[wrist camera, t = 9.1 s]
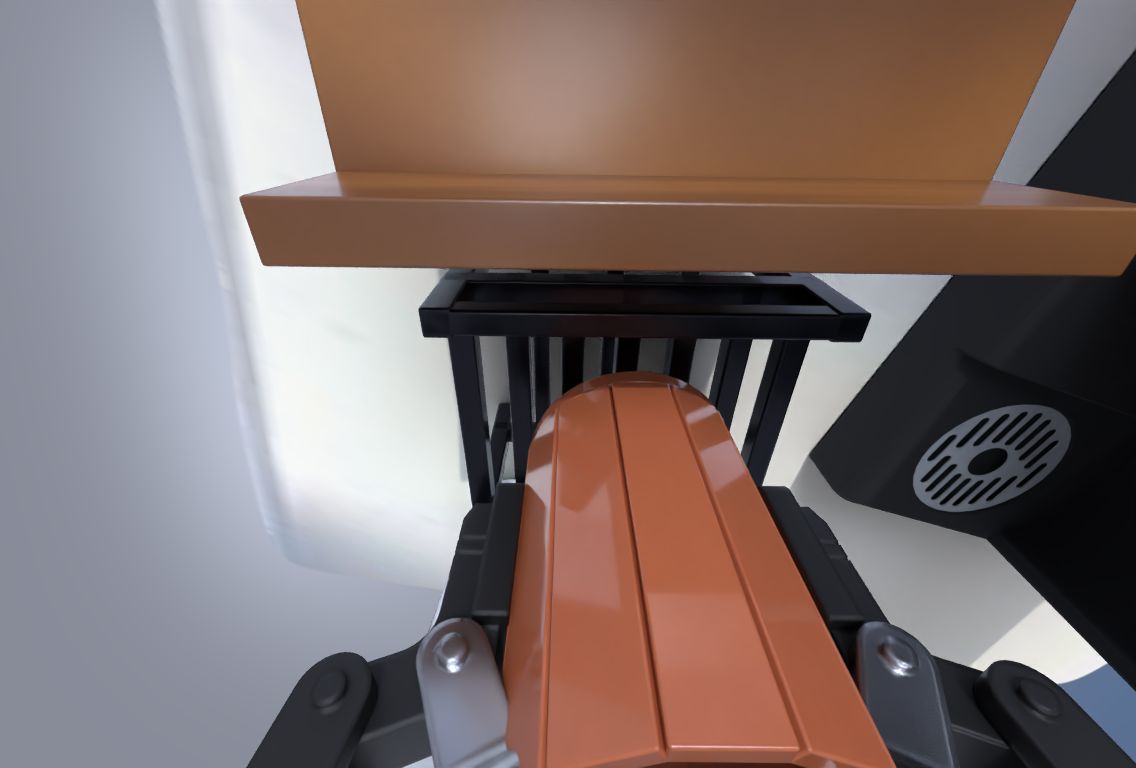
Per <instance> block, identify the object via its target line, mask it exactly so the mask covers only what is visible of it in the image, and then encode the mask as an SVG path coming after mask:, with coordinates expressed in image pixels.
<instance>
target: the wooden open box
mask: <svg viewBox="0 0 1136 768" xmlns="http://www.w3.org/2000/svg"><path fill="white" fill-rule="evenodd" d="M295 1H296V5H297V10H298V14H299V18H300V22H301V26H302V31H303V35H304V39H305V43H306V47H307V52H308V56H309V60H310V64H311V68H312V72H313V77H314V81H315V85H316V89H317V93H318V98H319V102H320V106H321V110H322V114H323V119H324V123H325V127H326V131H327V135H328V139H329V144H330V148H331V152H332V156H333V160H334V165H335V169H336V172H334V173H330V174H326V175H322V176H318V177H314V178H310V179H306V180H302V181H298V182H294V183H290V184H286V185H282V186H278V187H274V188H270V189H266V190H262V191H258V192H254V193H250V194H246V195H243V196H241V197H240V202H241V205H242V208H243V211H244V214H245V217H246V219H247V222H248V225H249V228H250V231H251V234H252V236H253V239H254V242H255V245H256V248H257V250H258V253H259V256H260V259H261V262H262V264H263V265H264V266H288V267H368V268H447V269H526V270H605V271H684V272H763V273H842V274H921V275H1000V276H1079V277H1118V276H1120V275H1121V274H1122V273H1123V272H1124V270H1125V269H1126V267H1127V266H1128V265H1129V263H1130V262H1131V260H1132V259H1133V257H1134V256H1135V254H1136V203H1130V202H1124V201H1117V200H1111V199H1105V198H1098V197H1092V196H1086V195H1079V194H1073V193H1067V192H1061V191H1054V190H1048V189H1042V188H1035V187H1029V186H1023V185H1016V184H1010V183H1004V182H997V181H991V180H992V178H993V176H994V174H995V172H996V170H997V168H998V165H999V163H1000V161H1001V159H1002V157H1003V155H1004V153H1005V151H1006V148H1007V146H1008V144H1009V142H1010V140H1011V138H1012V136H1013V134H1014V131H1015V129H1016V127H1017V125H1018V123H1019V121H1020V119H1021V117H1022V114H1023V112H1024V110H1025V108H1026V106H1027V104H1028V102H1029V100H1030V97H1031V95H1032V93H1033V91H1034V89H1035V87H1036V85H1037V83H1038V80H1039V78H1040V76H1041V74H1042V72H1043V70H1044V68H1045V66H1046V64H1047V61H1048V59H1049V57H1050V55H1051V53H1052V51H1053V49H1054V47H1055V44H1056V42H1057V40H1058V38H1059V36H1060V34H1061V32H1062V30H1063V27H1064V25H1065V23H1066V21H1067V19H1068V17H1069V15H1070V13H1071V10H1072V8H1073V6H1074V4H1075V2H1076V0H295Z"/></svg>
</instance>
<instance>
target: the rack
mask: <svg viewBox="0 0 1136 768" xmlns="http://www.w3.org/2000/svg"><path fill="white" fill-rule="evenodd" d="M488 271H489V269H449V270H448V271H447V272H446V273H445V275H444V276H443V277H442V278H441V280H440V281H439V283H438V284H437V285H436V287H435V288H434V289H433V291H432V292H431V293H430V294H429V296H428V297H427V298H426V300H425V301H424V302H423V303H422V305H421V306H420V307H419V316H420V322H421V327H422V333H423V336H424V337H432V338H448V341H449V348H450V355H451V362H452V369H453V376H454V383H455V390H456V397H457V404H458V411H459V418H460V424H461V431H462V438H463V445H464V452H465V459H466V466H467V473H468V480H469V487H470V494H471V501H472V507H473V506H474V505H475V503H493V498H494V493H495V488H496V484H497V483H502V478H503V473H504V467H505V462H506V457H507V451H508V446H509V442H513V451H514V466H515V481H516V483H525V477H526V469H527V461H528V453H529V448H530V444H531V442H532V440H533V436H534V432H535V430H536V427H537V425H538V423H539V421H540V420H541V418H542V416H543V415H544V413H545V412H546V411H547V410H548V408H549V407H550V406H551V390H550V337H562V394H561V396H562V395H563V394H565V393H566V392H567V391H569V390H570V389H572V388H574V387H575V386H577V385H579V384H581V383H583V377H584V349H585V337H602V338H601V356H600V373H599V376H603V375H606V374H611V373H617V372H626V371H637V370H638V361H639V351H640V342H641V338H668V344H667V351H666V358H665V365H664V372H663V374H664V375H667V376H670V377H674V378H677V379H679V380H681V381H683V382H685V383H687V384H689V379H690V373H691V368H692V362H693V357H694V351H695V346H696V340H697V339H721V343H720V348H719V353H718V357H717V362H716V367H715V371H714V376H713V381H712V385H711V390H710V395H709V400H710V401H711V403H712V404H713V405H714V406H715V407H716V409H717V410H718V411H719V413H720V415H721V417H722V419H723V421H724V423H725V425H726V427H727V429H728V431H729V430H730V426H731V422H732V419H733V415H734V411H735V407H736V403H737V399H738V395H739V391H740V387H741V383H742V379H743V376H744V372H745V368H746V364H747V360H748V356H749V352H750V348H751V344H752V340H753V339H770V340H773V341H772V345H771V348H770V352H769V356H768V359H767V363H766V366H765V370H764V373H763V377H762V380H761V384H760V387H759V391H758V394H757V398H756V402H755V405H754V409H753V412H752V416H751V419H750V423H749V426H748V430H747V433H746V437H745V440H744V444H743V448H742V451H741V457H742V459H743V461H744V463H745V465H746V467H747V469H748V471H749V473H750V475H751V477H752V479H753V481H754V483H755V485H756V486H762V484H763V481H764V478H765V475H766V472H767V469H768V466H769V463H770V460H771V457H772V454H773V451H774V448H775V445H776V442H777V439H778V436H779V433H780V430H781V427H782V424H783V421H784V418H785V415H786V412H787V409H788V405H789V402H790V399H791V396H792V393H793V390H794V387H795V384H796V381H797V378H798V375H799V372H800V369H801V366H802V363H803V360H804V357H805V354H806V351H807V348H808V345H809V342H810V340H829V341H831V342H861V341H862V338H863V336H864V333H865V331H866V328H867V326H868V323H869V321H870V318H871V313H869V312H868V311H866V310H865V309H863V308H862V307H860V306H859V305H857V304H856V303H854V302H853V301H851V300H850V299H848V298H846V297H845V296H843V295H842V294H840V293H839V292H837V291H836V290H834V289H833V288H831V287H830V286H828V285H827V284H826V283H824V282H823V281H821V280H820V279H818V278H817V277H815V276H813V275H812V274H810V273H763V272H751V273H752V274H754V275H755V276H715V275H699V272H684V271H678V275H641V274H624V271H605V274H567V273H564V274H556V273H549V270H531V273H487V272H488ZM479 336H506V349H507V364H508V378H509V393H510V403H500V404H499V406H498V410H497V414H496V418H495V422H494V426H493V430H492V435H491V439H490V436H489V426H488V416H487V407H486V397H485V387H484V378H483V368H482V358H481V348H480V339H479ZM531 337H533V345H534V376H535V407H536V422H534V412H533V384H532V356H531Z"/></svg>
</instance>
